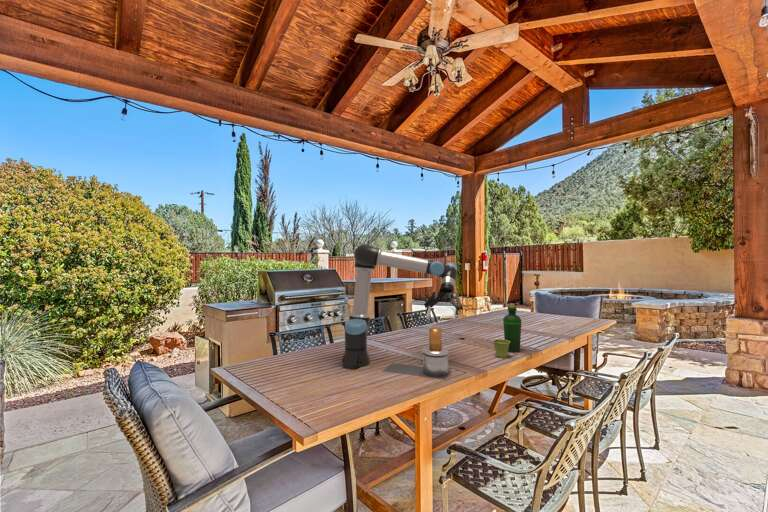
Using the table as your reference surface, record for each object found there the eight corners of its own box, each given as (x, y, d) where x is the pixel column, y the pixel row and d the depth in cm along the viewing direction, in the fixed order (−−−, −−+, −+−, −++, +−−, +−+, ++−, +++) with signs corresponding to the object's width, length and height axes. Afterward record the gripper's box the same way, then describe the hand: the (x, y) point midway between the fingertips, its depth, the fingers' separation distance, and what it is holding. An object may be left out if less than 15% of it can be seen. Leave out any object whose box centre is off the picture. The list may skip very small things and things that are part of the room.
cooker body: (419, 375, 165) (419, 354, 165) (427, 367, 176) (426, 348, 176) (445, 378, 160) (445, 357, 160) (451, 370, 171) (450, 350, 171)
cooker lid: (418, 354, 165) (418, 330, 165) (426, 347, 176) (425, 325, 177) (445, 357, 159) (445, 332, 160) (451, 350, 171) (451, 327, 172)
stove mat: (381, 373, 172) (381, 371, 172) (392, 364, 184) (392, 363, 184) (445, 381, 159) (445, 379, 159) (452, 372, 172) (452, 370, 172)
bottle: (523, 349, 212) (523, 303, 212) (519, 354, 203) (519, 306, 203) (505, 347, 218) (505, 302, 218) (501, 351, 209) (500, 304, 209)
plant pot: (511, 359, 193) (511, 343, 193) (493, 358, 195) (493, 342, 195) (509, 354, 202) (508, 339, 202) (492, 353, 204) (492, 338, 204)
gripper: (471, 292, 189) (466, 324, 175) (426, 290, 199) (418, 321, 185) (469, 282, 184) (464, 315, 170) (423, 281, 194) (415, 312, 180)
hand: (440, 318), depth 177 cm, fingers open, 13 cm apart
